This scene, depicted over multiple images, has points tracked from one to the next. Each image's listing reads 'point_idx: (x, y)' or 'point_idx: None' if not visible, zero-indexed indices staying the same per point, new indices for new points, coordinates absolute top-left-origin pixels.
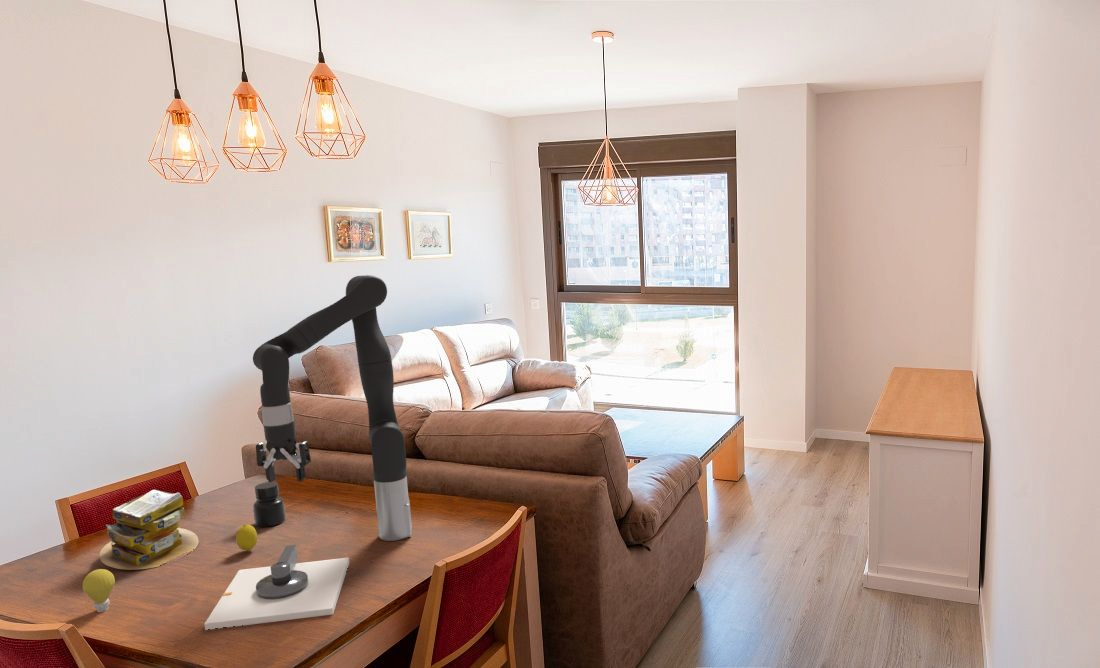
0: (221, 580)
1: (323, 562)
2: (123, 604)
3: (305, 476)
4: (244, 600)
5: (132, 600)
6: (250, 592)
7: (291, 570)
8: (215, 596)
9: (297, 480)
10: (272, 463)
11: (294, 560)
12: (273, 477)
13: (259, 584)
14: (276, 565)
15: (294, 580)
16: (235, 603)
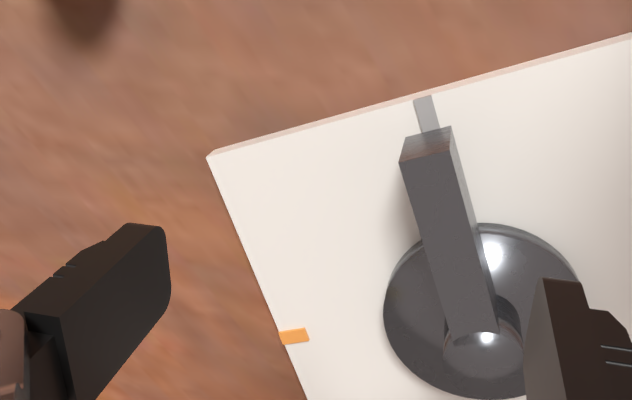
0: (173, 188)
1: (573, 82)
2: None
3: (622, 325)
4: (383, 377)
5: (5, 303)
6: (370, 330)
7: (483, 249)
8: (238, 296)
9: (525, 376)
10: (26, 372)
11: (465, 189)
12: (148, 270)
13: (400, 339)
14: (464, 361)
15: None
16: (363, 391)
